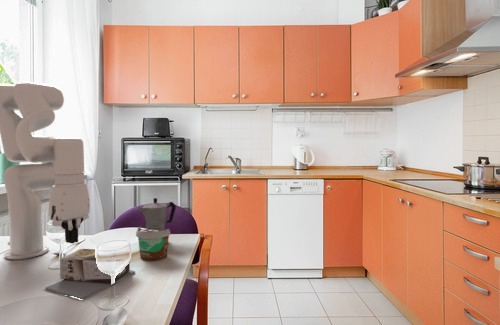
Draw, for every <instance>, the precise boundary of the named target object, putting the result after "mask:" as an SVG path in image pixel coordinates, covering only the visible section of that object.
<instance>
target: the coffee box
mask: <svg viewBox="0 0 500 325" xmlns="http://www.w3.org/2000/svg"><path fill="white" fill-rule="evenodd" d="M95 249H96V248H95ZM95 249H90V248H79V249H77V250H75V251H74V252H71V253H68V254H67V255H65V256H62V257H61V258H59V273H60V274H59V276H60V280H61V281H62V280H75V281H88V282H100V283H111V276H110V275H108V274H105V273H103V272H101V271H100V270H99V269H98V267H97V264H96V258H95ZM130 265H131V264H130V262H129V264H128V265H127V266H126V267H125V269H124V270H123V271H122V272H121V273H119V274H118V275H117V276H116V278H115V282H116V281H117V280H118V279H120V278H121V277H122V276H124V275H125V274H126V273H128V272H129V271H130V269H131V267H130Z"/></svg>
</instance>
